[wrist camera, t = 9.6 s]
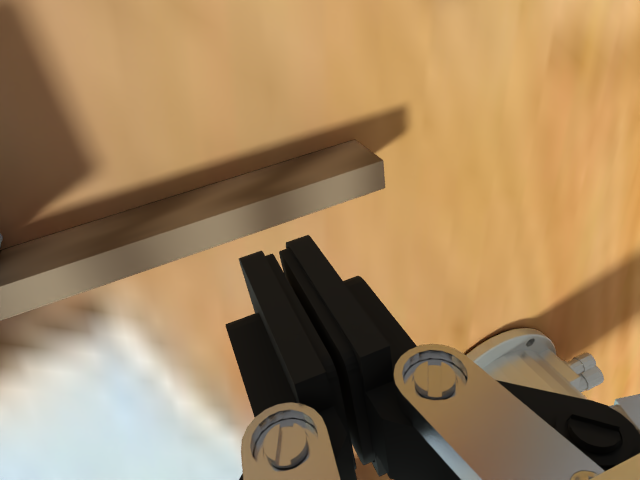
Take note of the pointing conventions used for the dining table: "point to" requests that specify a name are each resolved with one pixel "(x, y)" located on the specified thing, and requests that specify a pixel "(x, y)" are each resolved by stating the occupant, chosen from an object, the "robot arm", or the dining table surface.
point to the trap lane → (182, 226)
